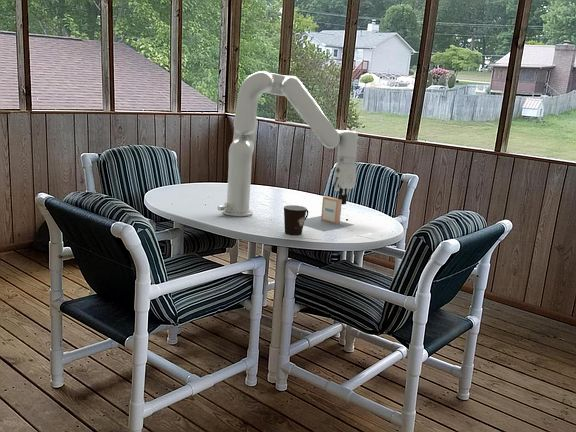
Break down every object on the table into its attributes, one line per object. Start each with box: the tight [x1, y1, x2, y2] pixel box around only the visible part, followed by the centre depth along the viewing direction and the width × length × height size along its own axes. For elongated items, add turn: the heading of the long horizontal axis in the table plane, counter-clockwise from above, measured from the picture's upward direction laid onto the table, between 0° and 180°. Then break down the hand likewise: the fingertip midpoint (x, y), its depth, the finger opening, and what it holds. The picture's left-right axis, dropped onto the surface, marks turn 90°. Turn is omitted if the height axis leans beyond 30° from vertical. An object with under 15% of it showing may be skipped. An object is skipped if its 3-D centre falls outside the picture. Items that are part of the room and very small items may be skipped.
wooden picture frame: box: [320, 195, 343, 224], centre depth 231 cm, size 3×8×10 cm, turn 47°
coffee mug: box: [283, 204, 309, 237], centre depth 210 cm, size 12×9×10 cm
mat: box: [303, 215, 354, 232], centre depth 228 cm, size 20×18×1 cm
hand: (341, 203), depth 235 cm, fingers closed
